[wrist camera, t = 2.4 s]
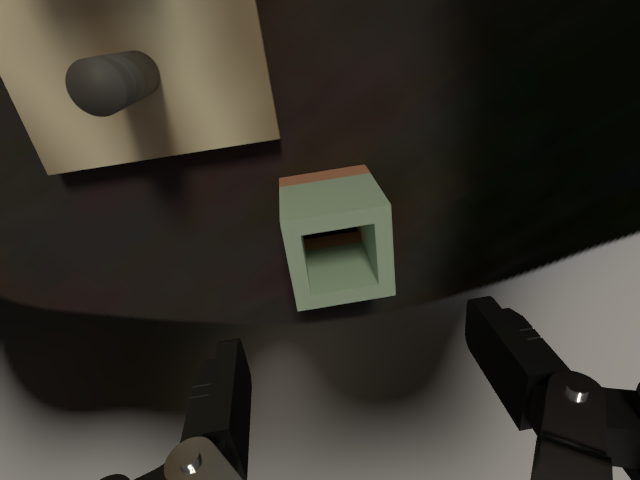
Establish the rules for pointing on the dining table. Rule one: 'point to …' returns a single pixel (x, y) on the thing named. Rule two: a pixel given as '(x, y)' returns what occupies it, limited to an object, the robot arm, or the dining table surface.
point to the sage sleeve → (337, 237)
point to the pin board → (144, 128)
